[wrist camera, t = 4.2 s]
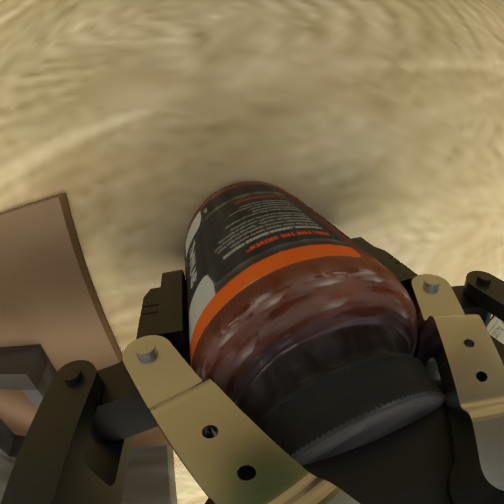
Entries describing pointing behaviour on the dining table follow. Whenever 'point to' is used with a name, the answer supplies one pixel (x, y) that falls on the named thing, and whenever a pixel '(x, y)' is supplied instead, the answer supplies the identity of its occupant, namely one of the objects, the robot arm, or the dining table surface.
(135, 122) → the dining table surface
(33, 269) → the wall board holder
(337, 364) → the supplement bottle
